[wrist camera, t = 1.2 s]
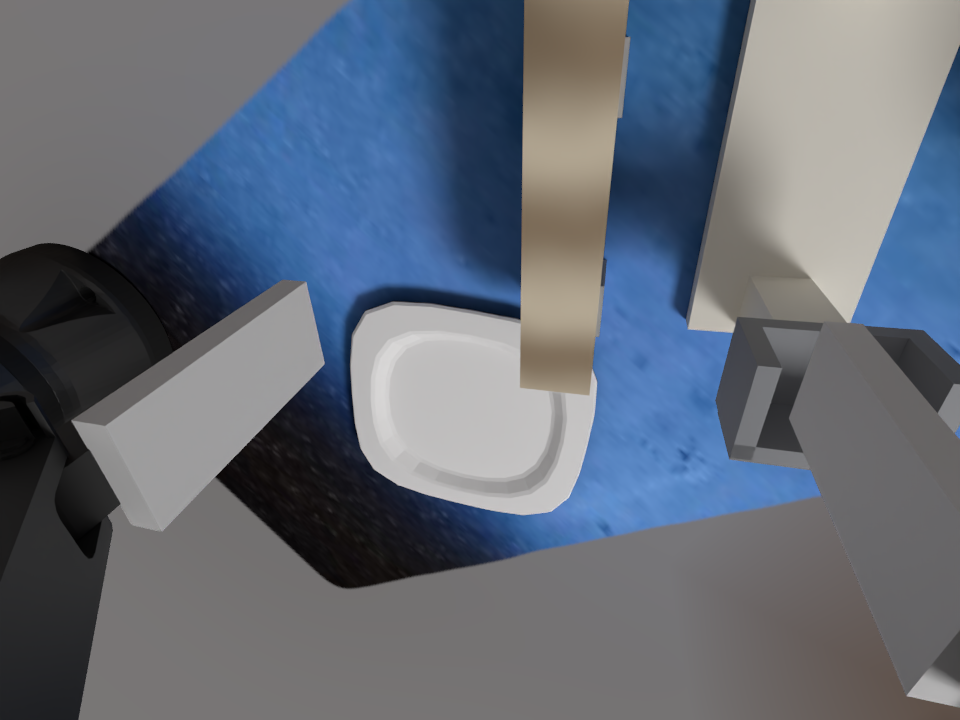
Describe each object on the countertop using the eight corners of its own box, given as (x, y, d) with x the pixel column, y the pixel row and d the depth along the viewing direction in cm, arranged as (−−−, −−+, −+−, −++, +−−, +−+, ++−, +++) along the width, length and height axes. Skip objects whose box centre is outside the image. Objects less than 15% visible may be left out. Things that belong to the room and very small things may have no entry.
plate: (352, 279, 35) (341, 288, 34) (615, 325, 32) (615, 338, 31) (365, 466, 45) (357, 480, 43) (567, 515, 42) (565, 531, 40)
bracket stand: (685, 324, 30) (713, 457, 21) (779, -142, 20) (935, -334, 10) (833, 335, 29) (942, 487, 19) (1025, -170, 18) (1515, -435, 8)
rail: (593, 359, 29) (589, 395, 26) (530, 353, 29) (519, 387, 27) (629, -8, 20) (630, -18, 17) (538, -3, 21) (524, -12, 18)
